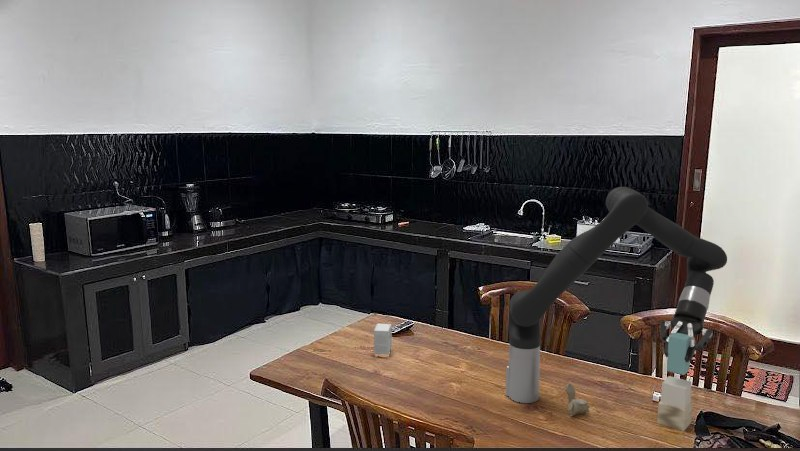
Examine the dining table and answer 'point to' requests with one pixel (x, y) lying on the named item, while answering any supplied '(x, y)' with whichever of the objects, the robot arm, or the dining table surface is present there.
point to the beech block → (675, 416)
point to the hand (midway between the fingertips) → (676, 358)
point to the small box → (382, 338)
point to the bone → (575, 402)
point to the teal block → (678, 353)
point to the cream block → (676, 392)
